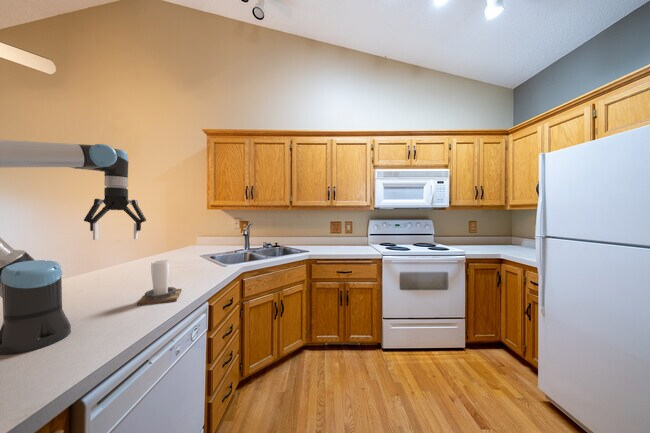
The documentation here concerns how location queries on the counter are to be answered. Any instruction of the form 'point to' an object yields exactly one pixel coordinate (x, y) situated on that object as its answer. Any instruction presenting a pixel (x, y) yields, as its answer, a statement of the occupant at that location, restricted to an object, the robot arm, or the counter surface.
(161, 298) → the ring holder
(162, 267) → the drinking glass
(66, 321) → the robot arm
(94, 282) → the counter surface
